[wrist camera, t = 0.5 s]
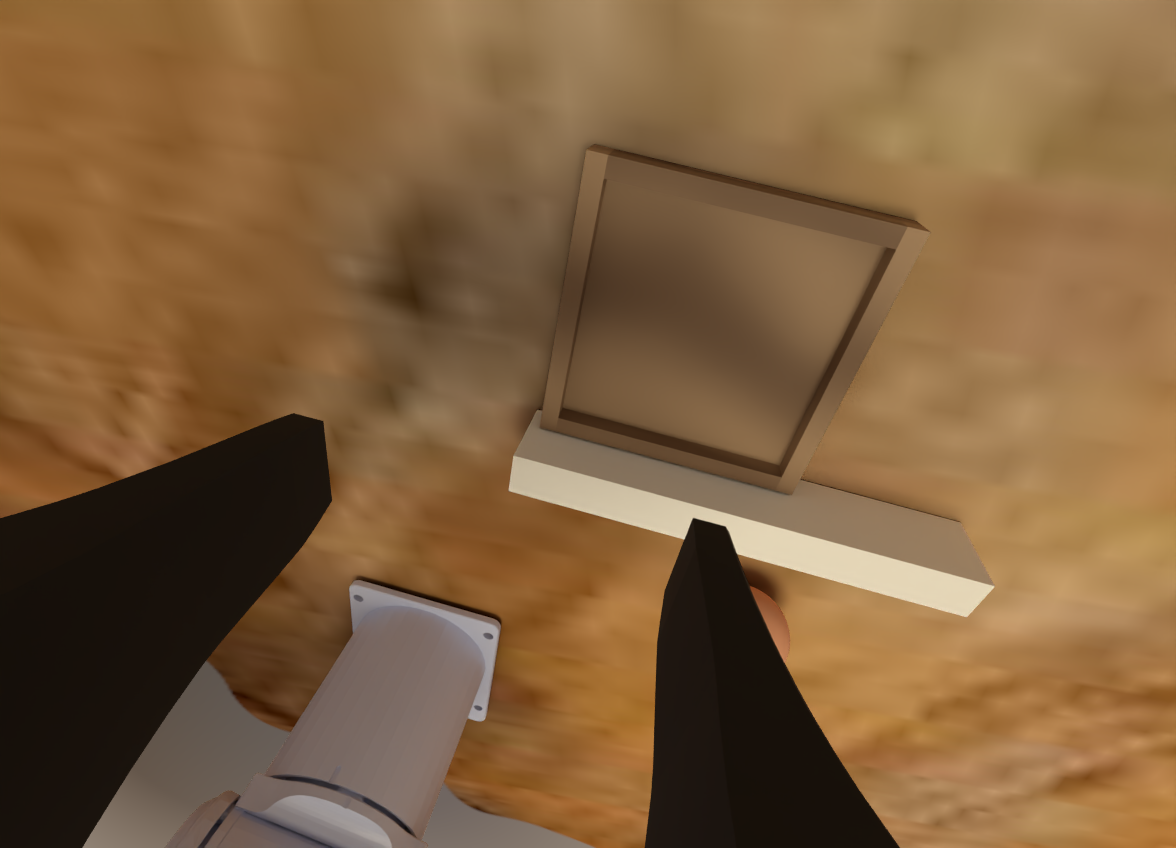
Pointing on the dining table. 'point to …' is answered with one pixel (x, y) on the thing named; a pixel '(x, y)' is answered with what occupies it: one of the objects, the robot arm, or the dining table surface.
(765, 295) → the tray
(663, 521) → the strip
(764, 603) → the ball
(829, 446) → the dining table surface
